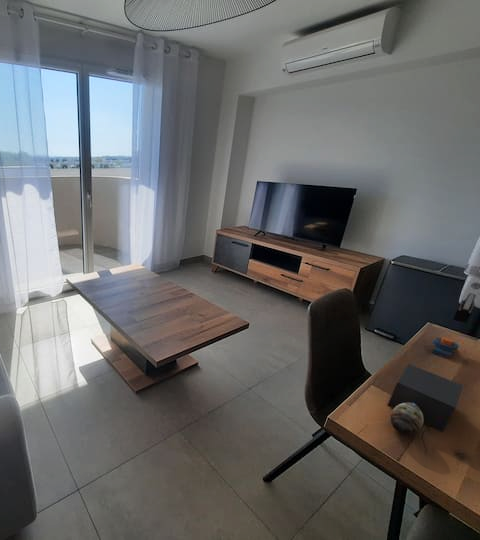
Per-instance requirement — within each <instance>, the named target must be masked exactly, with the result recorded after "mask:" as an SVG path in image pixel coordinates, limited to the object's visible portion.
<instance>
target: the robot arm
mask: <svg viewBox="0 0 480 540" xmlns="http://www.w3.org/2000/svg"><path fill="white" fill-rule="evenodd" d="M463 273H464V274H465V275H467V277H466V280H465V281H464V284H463V286H462V289H461V292H460V296H459V300H458V303H459V304H460V306H459V307H457V309H456V312H455V314H454V316H453V318H452V319H453V320H454V321H456V322H460V323H463V324H467V323H468V322H469V319H470V318H471V315H472V313H473V310H474V309H473V308H474V307H476V308H477V309H480V236H478V238H477V241H476V243H475V245H474V248H473V250H472V253H471V255H470V257H469V259H468V261H467V264H466V266H465V269H464V271H463Z"/></svg>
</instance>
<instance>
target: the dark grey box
mask: <svg viewBox="0 0 480 540" xmlns="http://www.w3.org/2000/svg"><path fill="white" fill-rule="evenodd" d="M463 386H464V385H463V384H461V383H459V382H456V381H453V380H450V379H448V378H445V377H443V376H440V375H437V374H435V373H432V372H431V371H427V370H425V369H423V368H420V367H417V366H416V365H413V364H411V363H408V364H406V367H405V369H404V370H403V372H402V374H401V375H400V377H399V379H398V380H397V382H396V384H395V387H394V389H393V391H392V393H391V396H390V398H389V400H388V402H387V406H389V407H390V408H392V409H394V408H395V407H396V406H398V405H399V404H402V403H414V404H416V405H417V406H418V408H419V409H420V410H421V412H422V414H423V419H424V422H423V424H425V425H426V426H429V427H431V428H433V429H435V430H437V431H439V432H441V433H443V432H444V430H445V429H446V426H447V425H448V423H449V422H450V420H451V418H452V416H453V414H454V413H455V410H456V409H457V405H458V402H459V399H460V396H461V393H462V389H463Z"/></svg>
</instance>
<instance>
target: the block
mask: <svg viewBox="0 0 480 540" xmlns="http://www.w3.org/2000/svg"><path fill="white" fill-rule="evenodd" d="M441 339H442V337H435V338H434V339H433V341H432V345H434V346H433V348H432V350H431V354H434V355H437V356H440V357H442V358H445V359H448V360H449V359H450V358H451V357H452V354H453V352H457V351H458V349H459V346H460V345H459V344H458V343H457V342H455V341H454V343H453V345H452V346H451V345H446V344H443V343H441V342H440V341H441Z"/></svg>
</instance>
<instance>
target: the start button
mask: <svg viewBox="0 0 480 540" xmlns="http://www.w3.org/2000/svg"><path fill="white" fill-rule="evenodd" d="M441 338H442V339H441V341H440V342H441V343H443V344H446V345H451V346H452V345H453V343H454V342H455V340H454V339H452V338H450V337H447V336H442V337H441Z"/></svg>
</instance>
